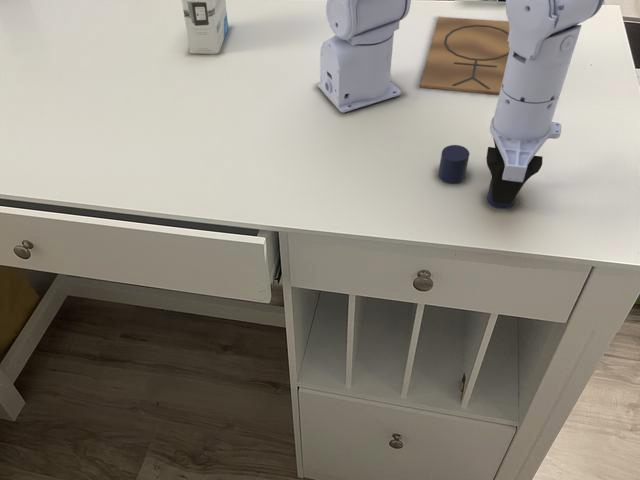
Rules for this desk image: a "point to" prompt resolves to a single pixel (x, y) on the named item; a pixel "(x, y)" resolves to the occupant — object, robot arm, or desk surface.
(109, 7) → the desk surface
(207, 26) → the ink box
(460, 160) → the dot
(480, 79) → the sheet
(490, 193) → the dot
